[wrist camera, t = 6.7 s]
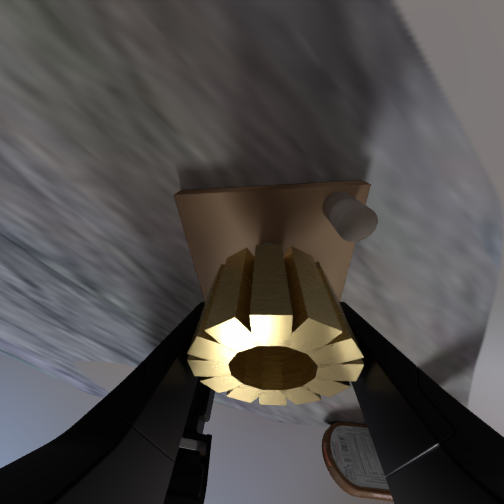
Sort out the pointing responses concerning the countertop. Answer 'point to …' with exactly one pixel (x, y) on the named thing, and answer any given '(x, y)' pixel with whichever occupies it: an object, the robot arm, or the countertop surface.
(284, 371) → the brass gear
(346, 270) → the board
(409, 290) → the countertop surface
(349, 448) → the tin
